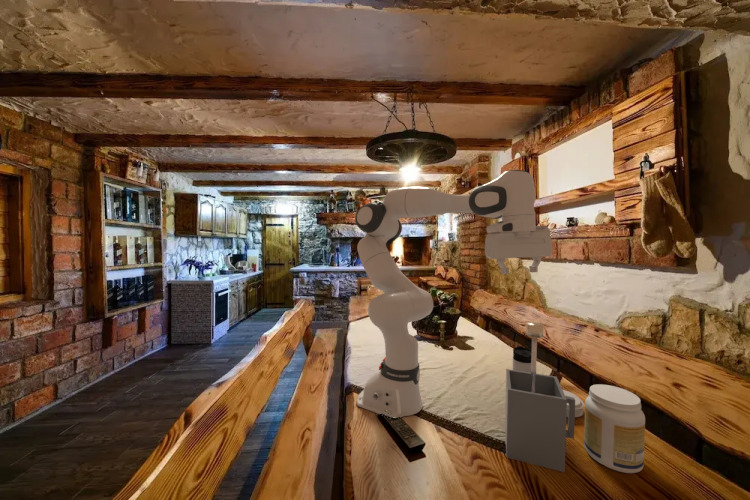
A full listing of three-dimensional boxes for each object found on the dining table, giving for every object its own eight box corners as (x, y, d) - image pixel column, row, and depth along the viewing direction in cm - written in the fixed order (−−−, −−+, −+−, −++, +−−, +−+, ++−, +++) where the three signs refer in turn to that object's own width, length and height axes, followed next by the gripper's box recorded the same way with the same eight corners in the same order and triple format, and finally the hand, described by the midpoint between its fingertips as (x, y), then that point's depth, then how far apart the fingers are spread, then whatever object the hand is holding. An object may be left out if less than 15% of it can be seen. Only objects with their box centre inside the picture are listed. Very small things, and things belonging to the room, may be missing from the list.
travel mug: (527, 403, 103) (528, 346, 102) (535, 414, 97) (537, 353, 96) (508, 402, 104) (509, 345, 103) (515, 413, 97) (517, 352, 96)
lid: (541, 414, 97) (541, 399, 97) (536, 395, 108) (537, 382, 108) (588, 424, 92) (588, 408, 92) (578, 403, 104) (578, 389, 103)
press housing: (506, 457, 78) (507, 389, 77) (505, 427, 90) (506, 369, 89) (579, 476, 72) (581, 402, 71) (567, 441, 84) (569, 378, 83)
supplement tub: (647, 459, 77) (650, 394, 76) (639, 484, 69) (642, 413, 68) (590, 435, 86) (592, 377, 86) (577, 455, 78) (579, 392, 78)
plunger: (513, 412, 78) (515, 327, 77) (511, 393, 87) (513, 317, 86) (557, 421, 74) (560, 331, 73) (550, 400, 84) (553, 321, 83)
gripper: (541, 225, 93) (542, 270, 93) (481, 227, 89) (482, 273, 89) (557, 224, 86) (558, 272, 87) (493, 226, 83) (494, 276, 83)
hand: (519, 273), depth 88 cm, fingers open, 8 cm apart
